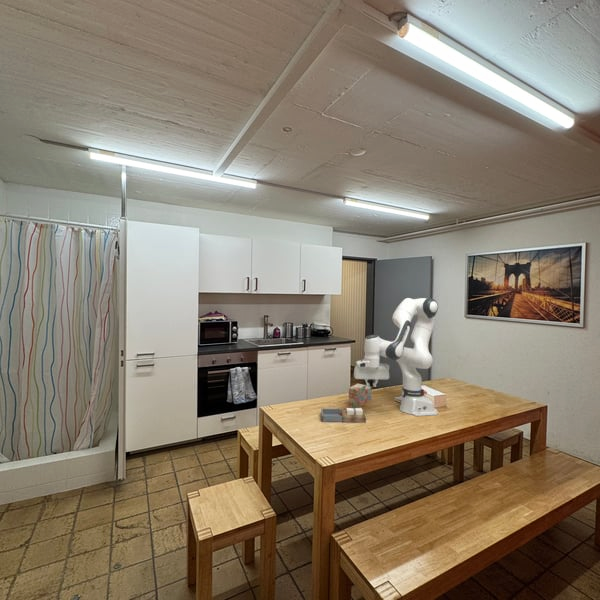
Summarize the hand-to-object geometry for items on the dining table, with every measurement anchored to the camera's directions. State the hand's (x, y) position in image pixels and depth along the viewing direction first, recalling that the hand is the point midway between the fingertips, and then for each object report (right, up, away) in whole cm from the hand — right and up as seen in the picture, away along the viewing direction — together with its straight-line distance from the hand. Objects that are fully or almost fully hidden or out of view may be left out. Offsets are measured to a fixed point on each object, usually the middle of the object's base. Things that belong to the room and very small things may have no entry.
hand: (371, 386), depth 182 cm
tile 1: (-12, -16, 0) cm, 20 cm away
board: (-11, -19, +1) cm, 22 cm away
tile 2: (-7, -16, 0) cm, 18 cm away
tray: (-23, -19, +1) cm, 30 cm away
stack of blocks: (-1, -19, +27) cm, 33 cm away
